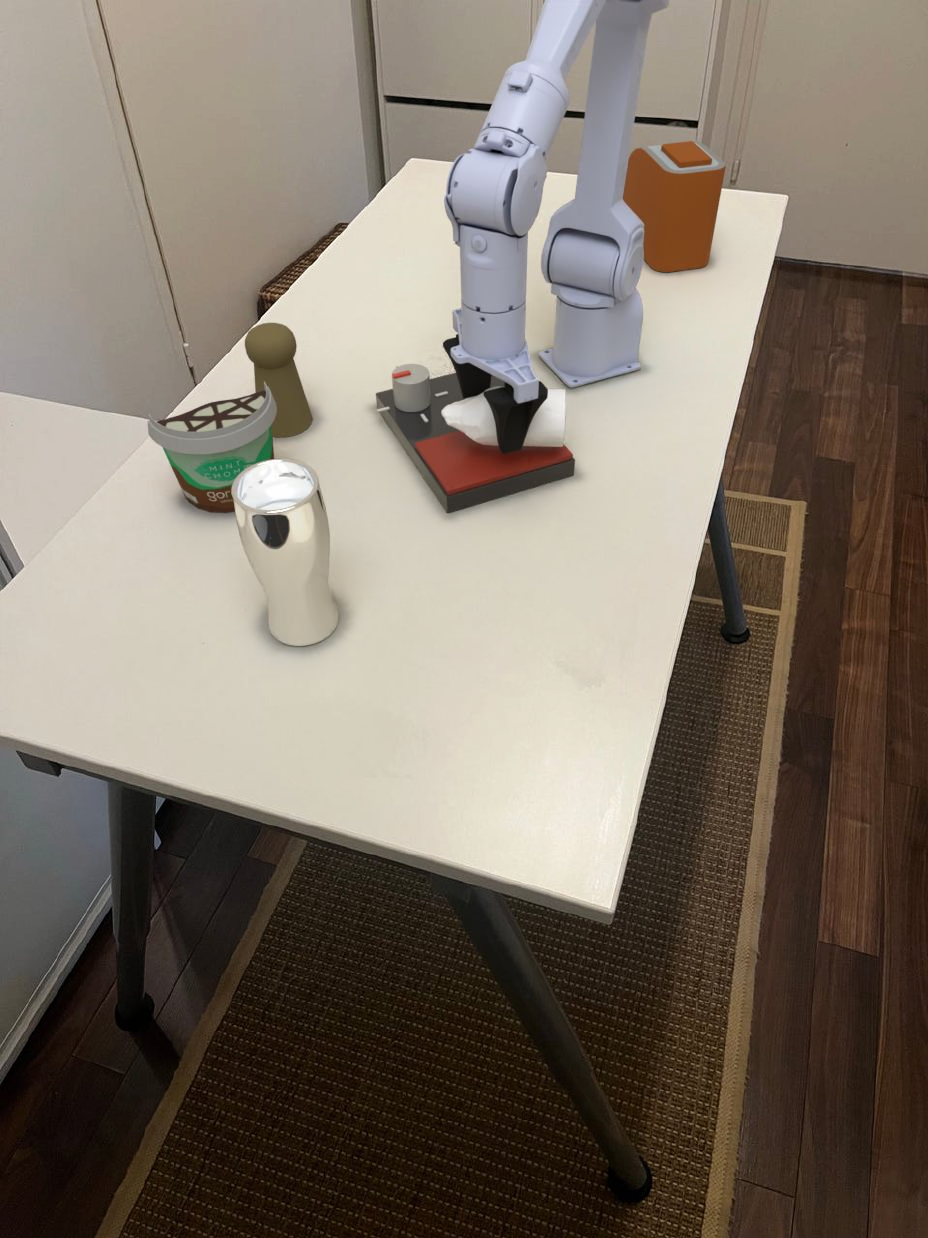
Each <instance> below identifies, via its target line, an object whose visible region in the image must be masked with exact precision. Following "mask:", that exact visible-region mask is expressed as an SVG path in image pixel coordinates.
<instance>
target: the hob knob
mask: <svg viewBox="0 0 928 1238" xmlns="http://www.w3.org/2000/svg"><path fill="white" fill-rule="evenodd" d="M430 377H431V376H430V371H429V369H428V367H426V366H425V365H422V364H418V363H405V364H401V365H399V366H397V367H395V368H394V369H393V370H392V372H391V383H392V384H391V385H392V389H393V397H394V405H395V406H396V408H398V409H399V410H401V411H404V412H418V411H422V410H424V409H426V408H427V407H428V406H429V405H430V403H431V392H430V379H431V378H430Z"/></svg>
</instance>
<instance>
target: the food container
mask: <svg viewBox="0 0 928 1238" xmlns="http://www.w3.org/2000/svg"><path fill="white" fill-rule="evenodd" d="M276 413H277V406H276V402H275V400H274V398H273V395H272V393H271V391H270V389H269V387H267V385H266V383H265V381H264V391H261V392H254V393H251V394H248V395H244V396H241V397H237V398H231V399H222V400H217V401H210V402H208V403H205V404H203V405H200V406H197V407H196V408H193V409H192V410H189V411H186V412H184V413H181V414H178V415H174V416H171V417H167V418H165V419H161V420H157V421H156V420H155V419H154V418H153V417H152V416H151V414H150V413H148V419H149V420H147V432H148V436H149V437H150V439H151V440H152V441H154V443H156V444H157V445H158V446H160V447H161V448H162V449H163V452H164V454H165V457H166V458H167V460H168V463H169V466H170V467H171V469H172V472H173V474H174V476H175V479H176V480H177V482H178V485H179V487H180V489H181V492H182V493H183V495H184V497H185V500H187V502H188V503H189V504H191V505H192V506H194V507H195V508H197V509H198V510H202V511H206V512H208V513H219V514H228V513H229V514H230V513H235V508H234V501H233V497H232V492H231V489H232V485H233V482H234V480H235V479H236V477H237V476H238V475H239V474H240V473H241V472H242V471H244V470H245V469H246V468H248V467H250V466H252V465H254V464H256V463H259V462H262V461H266V460H271V459H275V453H274V452H275V451H274V439H273V438H274V437H272V426H271V424H272V423H273V421H274V419H275V416H276Z"/></svg>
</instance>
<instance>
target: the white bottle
mask: <svg viewBox="0 0 928 1238" xmlns="http://www.w3.org/2000/svg"><path fill="white" fill-rule="evenodd" d="M496 388H500V387H492V388H489V389H487V390H485V391H489V390H492V389H496ZM547 389H548V397H547V399H546V400H545V401H544V402H543V404H542V405H541V406H540V408H539V409H538V410H537V412H536V414H535V415H534V417H533V419H532V421H531V424H530V426H529V429H528V432H527V435H526V438H525V441H524V444H523V446H543V447H563V444H564V443H565V432H566V430H565V429H566V410H567V409H566V407H567V405H566V398H567V396H566V394H567V392H566V389H564V388H547ZM485 391H484V392H485ZM484 392H483V393H481V394H480V395H478V396H474V397H470V398H466V399H464V400H461V401H459V402H454V403H452V404H450V405H447V406H446V407H444V409H443V410H442V411H441V413H442V416H443V417H444V418H445V421H446V423H447V425H449V426H452V427H454V428H456V429H458V430H460V431H461V432H463V433H465V435H467V436H468V437H469V438H471V439H472V440H474V441H475V442H477V443H480V444H482V445H494V446H499V445H498V441H497V433H496V425H495V420H494V416H493V413H492V410H491V408H490V406H489V403H488V402H487V400H486V398H485V397H484ZM564 445H565V444H564Z"/></svg>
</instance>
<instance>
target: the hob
mask: <svg viewBox="0 0 928 1238" xmlns="http://www.w3.org/2000/svg"><path fill="white" fill-rule="evenodd" d="M492 387H504V381H503V380H501V379H499V378H497V377H495V376H493V375H492V376H491V386H490V388H492ZM430 392H431V403H430V405H429V406H428V407H427V408H426V409H424V410H422V411H418V412H404V411H401V410H399V409H398V408H396V406H395V405H394V397H393V388H389V389H385V390H382V391H379V392H375V400H376V408H377V409H376V413H380V415H381V416H382V418H383V419H384V421H385V422H386V424H387V425H388V427H389V428H390V430H391V431H392V433H393V434H394V437H396V439H397V440H398V441H399V443H400V444H401V447H403V449H404V451H405V453H406V454H407V455H408V457H409V458H410V460H411V461H412V463H413V464H414V466H415V467H416V469H417V470H418V472H419V473H420V474H421V476H422V477H423V479H424V480H425V482H426V483H427V484H428V486H429V488H430V489H431V491H432V492H433V494H434V495H435V498H437V500H438V501H439V503H440V504H441V506H442V507H443V509H444V510H445V512H446V513H447V514H450V513H453V512H456V511H459V510H463V509H467V508H469V507H474V506H477V505H480V504H484V503H486V502H490V501H494V500H496V499H500V498H503V497H506V496H511V495H513V494H516V493H520V492H524V491H526V490H530V489H534V488H536V487H540V486H543V485H547V484H550V483H553V482H557V481H560V480H563V479H567V478H570V477H573V476H575V468H576V459H575V457H573V459H570V460H567V461H564V462H560V463H557V464H553V465H550V466H547V467H543V468H540V469H536V470H533V471H529V472H526V473H523V474H519V475H516V476H512V477H509V478H506V479H502V480H499V481H495V482H492V483H489V484H485V485H482V486H478V487H475V488H472V489H468V490H465V491H461V492H458V493H455V494H451V495H447V493H446V492H445V490H444V489H443V487H442V486H441V484H440V483H439V482H438V480H437V479H436V477H435V476H434V474H433V473H432V471H431V470H430V468H429V467H428V466H427V464H426V463H425V461H424V460H423V458H422V457H421V455H420V454H419V452H418V451H417V449H416V448H415V443H416V442H420V441H423V440H427V439H431V438H434V437H438V436H442V435H445V434H449V433H453V432H456V431H460V430H458V429H456V428H454V427H452V426H449V425H447V423H446V421H445V418H444V417H443V416H442V413H441V411H442V410H443V409H444V407H446V406H447V405H450V404H452V403H454V402H459V401H461V400H463V396H462V392H461V388H460V385H459V381H458V377H457V374H456V372H452V373H449V374H445V375H441V376H437V377H433V378H430Z"/></svg>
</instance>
